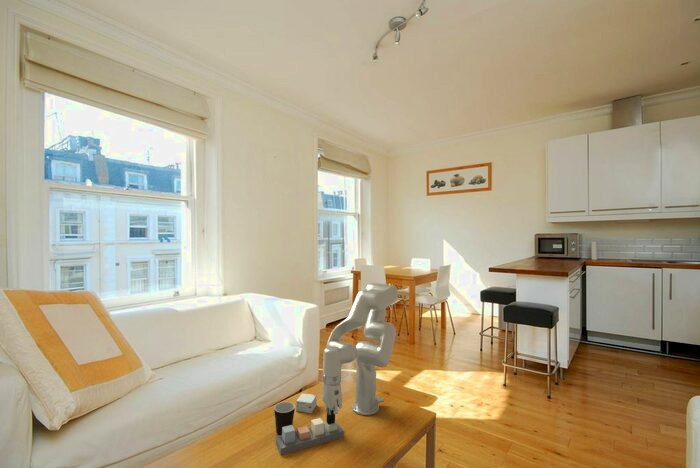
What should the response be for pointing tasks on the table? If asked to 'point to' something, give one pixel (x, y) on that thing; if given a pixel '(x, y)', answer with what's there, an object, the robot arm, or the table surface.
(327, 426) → the key sage
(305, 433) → the key terracotta
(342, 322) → the robot arm
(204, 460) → the table surface
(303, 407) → the small box
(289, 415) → the coffee mug
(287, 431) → the key slate
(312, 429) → the key cream
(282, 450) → the keypad
